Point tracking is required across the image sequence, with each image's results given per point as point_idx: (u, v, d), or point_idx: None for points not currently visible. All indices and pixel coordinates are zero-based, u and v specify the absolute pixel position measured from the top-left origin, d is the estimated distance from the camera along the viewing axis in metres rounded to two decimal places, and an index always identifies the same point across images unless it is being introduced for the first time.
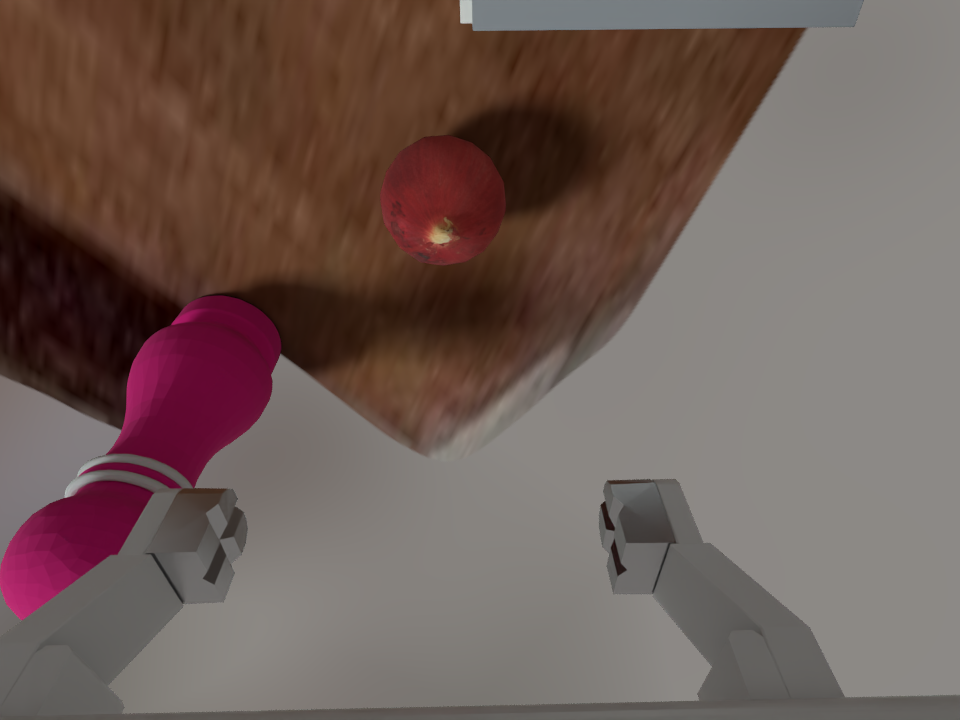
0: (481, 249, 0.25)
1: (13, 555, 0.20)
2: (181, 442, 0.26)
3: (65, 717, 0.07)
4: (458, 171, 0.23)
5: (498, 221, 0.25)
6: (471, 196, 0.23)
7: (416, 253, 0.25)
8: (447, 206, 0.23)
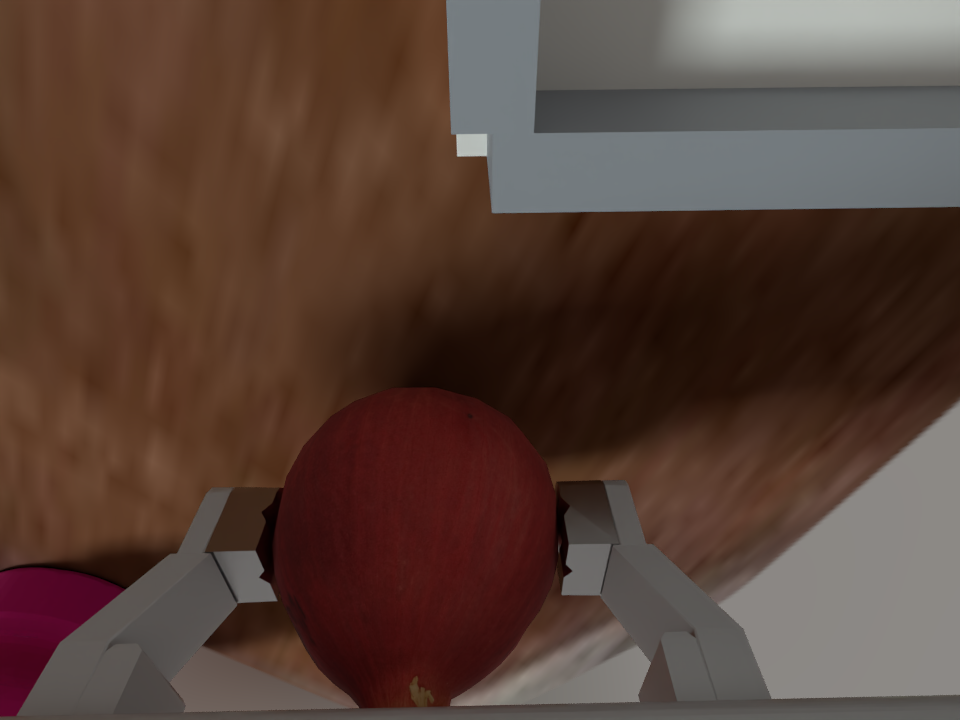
0: None
1: None
2: None
3: (65, 717, 0.07)
4: (448, 543, 0.09)
5: None
6: (484, 605, 0.09)
7: None
8: (419, 646, 0.09)
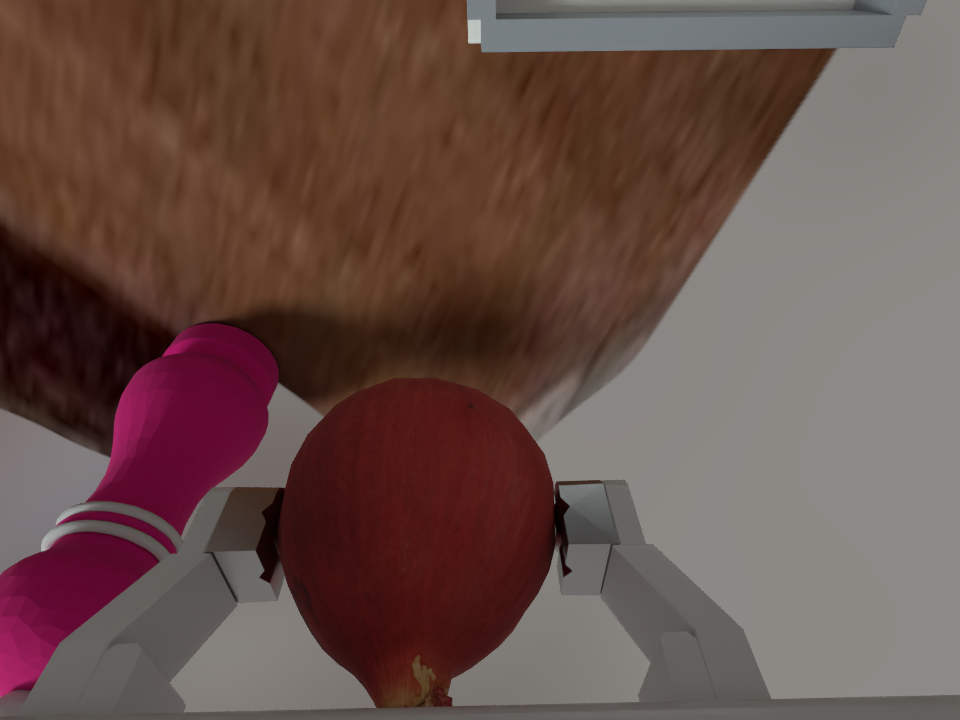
0: None
1: None
2: (168, 485, 0.24)
3: (65, 717, 0.07)
4: (450, 527, 0.09)
5: None
6: (485, 587, 0.09)
7: None
8: (422, 625, 0.09)
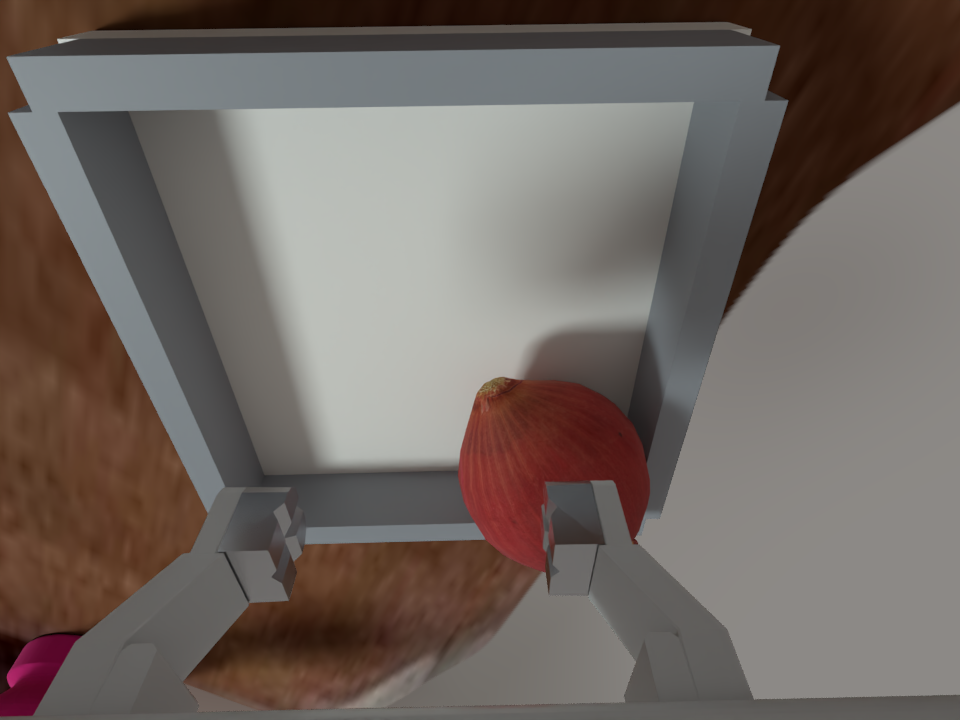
0: None
1: None
2: None
3: (65, 717, 0.07)
4: (646, 503, 0.16)
5: None
6: None
7: None
8: None
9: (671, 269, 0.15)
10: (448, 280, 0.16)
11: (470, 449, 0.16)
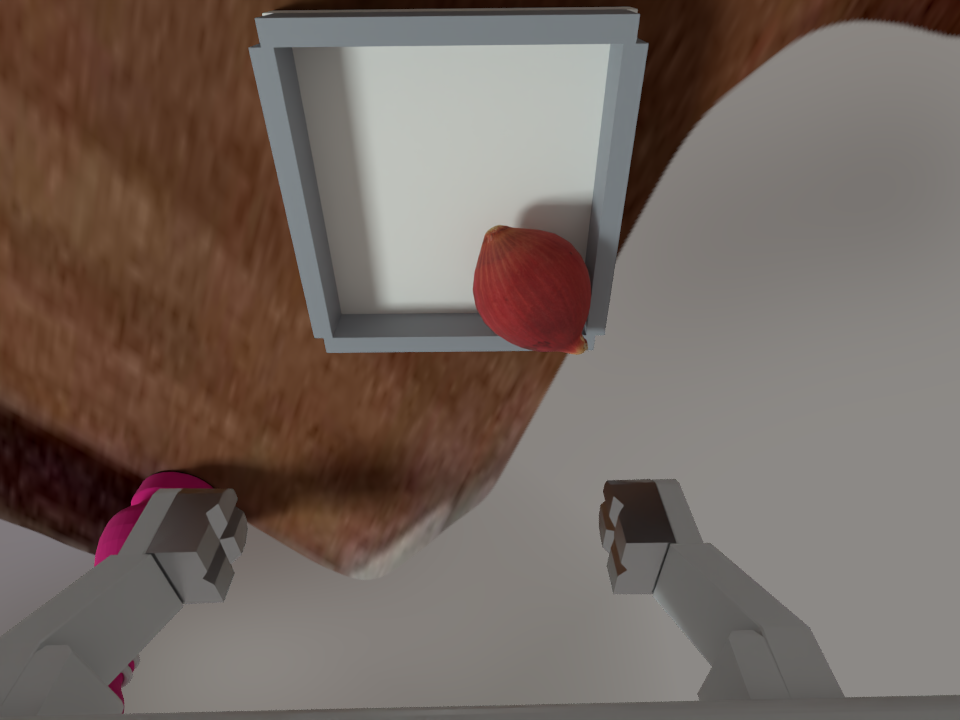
0: None
1: None
2: None
3: (65, 717, 0.07)
4: (588, 301, 0.27)
5: None
6: (589, 307, 0.28)
7: None
8: (582, 329, 0.28)
9: (601, 153, 0.26)
10: (468, 164, 0.27)
11: (480, 265, 0.27)
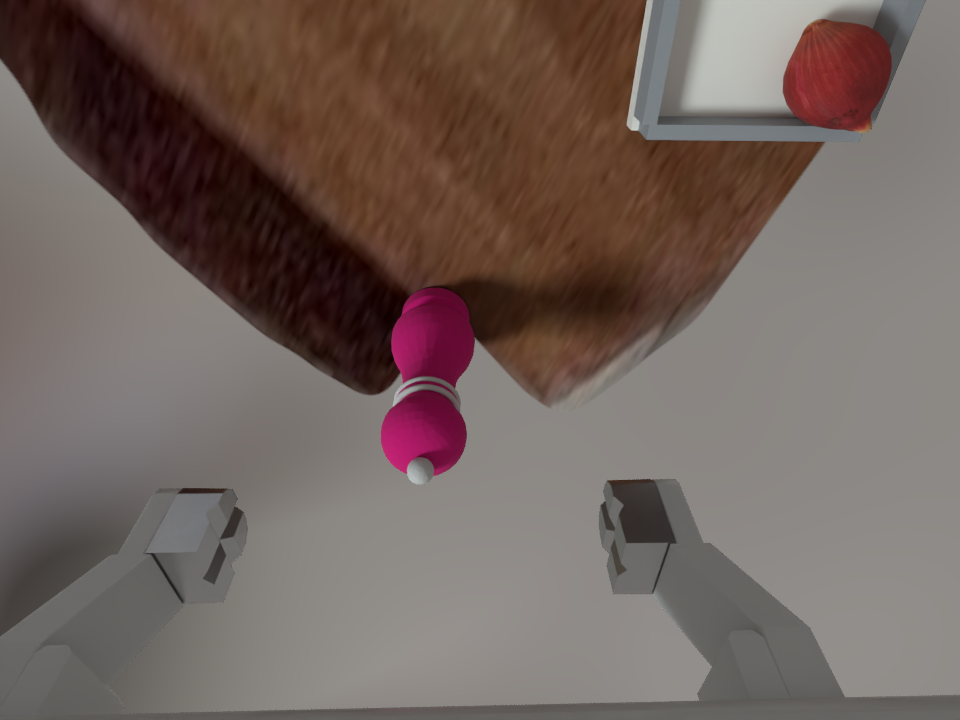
0: None
1: (399, 422, 0.36)
2: (448, 374, 0.42)
3: (65, 717, 0.07)
4: None
5: None
6: None
7: (824, 127, 0.36)
8: None
9: None
10: None
11: (807, 48, 0.34)
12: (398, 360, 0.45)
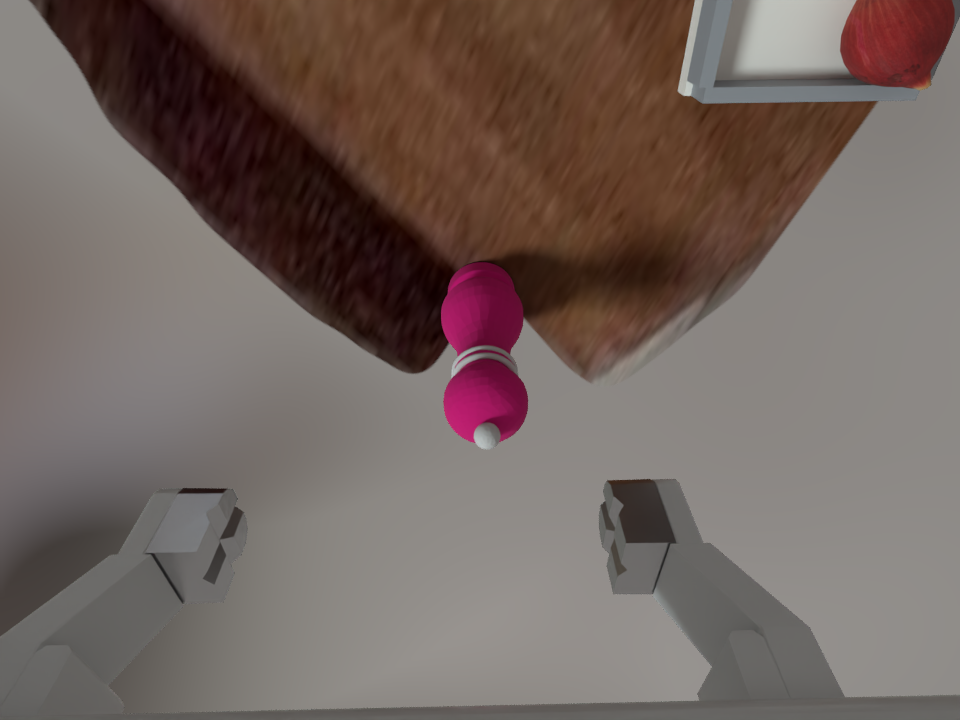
0: None
1: (465, 388, 0.36)
2: (503, 344, 0.42)
3: (65, 717, 0.07)
4: (949, 34, 0.34)
5: None
6: None
7: (882, 85, 0.36)
8: None
9: None
10: None
11: (868, 4, 0.34)
12: (451, 333, 0.45)
